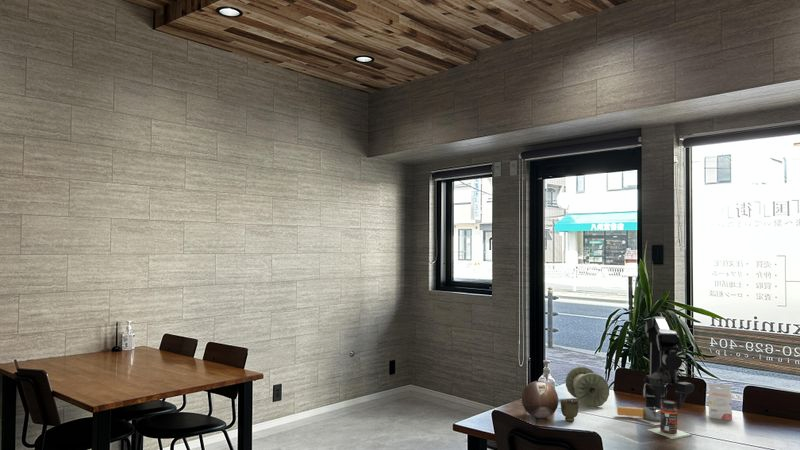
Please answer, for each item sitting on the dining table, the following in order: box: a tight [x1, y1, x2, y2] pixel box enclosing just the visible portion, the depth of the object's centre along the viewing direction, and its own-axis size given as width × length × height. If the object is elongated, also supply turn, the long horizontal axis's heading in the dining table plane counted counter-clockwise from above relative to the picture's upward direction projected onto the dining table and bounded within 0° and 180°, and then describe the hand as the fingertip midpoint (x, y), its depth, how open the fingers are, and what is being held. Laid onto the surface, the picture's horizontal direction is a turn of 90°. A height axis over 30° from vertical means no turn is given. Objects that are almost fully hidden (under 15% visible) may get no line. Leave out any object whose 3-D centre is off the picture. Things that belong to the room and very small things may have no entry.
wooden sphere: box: [521, 380, 559, 419], centre depth 242 cm, size 15×15×15 cm
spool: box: [565, 366, 610, 409], centre depth 267 cm, size 16×15×15 cm
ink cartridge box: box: [707, 382, 733, 421], centre depth 243 cm, size 9×5×15 cm, turn 62°
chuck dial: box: [616, 405, 661, 422], centre depth 240 cm, size 18×8×5 cm, turn 76°
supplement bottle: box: [659, 400, 678, 434], centre depth 222 cm, size 6×6×11 cm
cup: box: [559, 399, 580, 423], centre depth 237 cm, size 8×7×8 cm
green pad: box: [646, 427, 692, 440], centre depth 221 cm, size 11×11×1 cm
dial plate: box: [631, 416, 660, 426], centre depth 239 cm, size 12×12×1 cm
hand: (668, 405), depth 222 cm, fingers open, 9 cm apart
